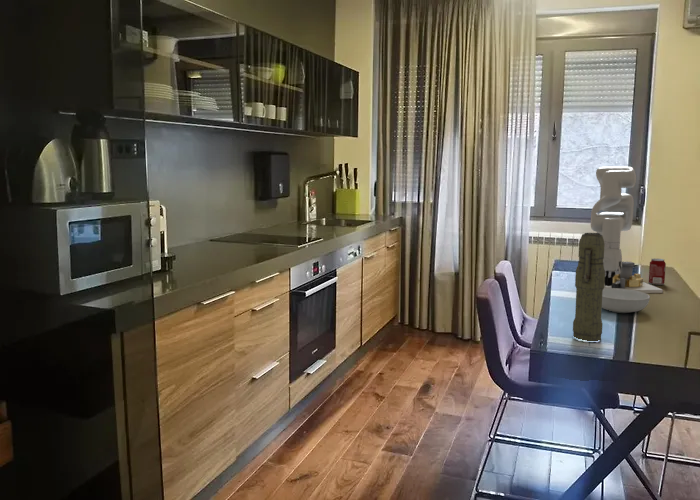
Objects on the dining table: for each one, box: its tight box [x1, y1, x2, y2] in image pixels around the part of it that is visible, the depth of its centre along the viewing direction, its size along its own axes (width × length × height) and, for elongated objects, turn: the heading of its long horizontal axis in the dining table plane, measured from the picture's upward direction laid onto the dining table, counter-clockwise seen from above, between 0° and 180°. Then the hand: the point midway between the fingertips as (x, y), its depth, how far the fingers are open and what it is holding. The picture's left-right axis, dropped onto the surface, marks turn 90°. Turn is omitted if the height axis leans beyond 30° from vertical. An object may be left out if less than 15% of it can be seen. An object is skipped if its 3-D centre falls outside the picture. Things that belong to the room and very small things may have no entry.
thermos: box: [572, 232, 605, 341], centre depth 191 cm, size 9×12×35 cm
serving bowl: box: [602, 288, 651, 314], centre depth 231 cm, size 21×21×7 cm
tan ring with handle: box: [612, 273, 644, 288], centre depth 268 cm, size 24×14×4 cm, turn 140°
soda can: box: [648, 258, 667, 286], centre depth 279 cm, size 7×7×12 cm
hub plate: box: [604, 261, 664, 294], centre depth 272 cm, size 24×22×12 cm
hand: (608, 285), depth 266 cm, fingers closed
